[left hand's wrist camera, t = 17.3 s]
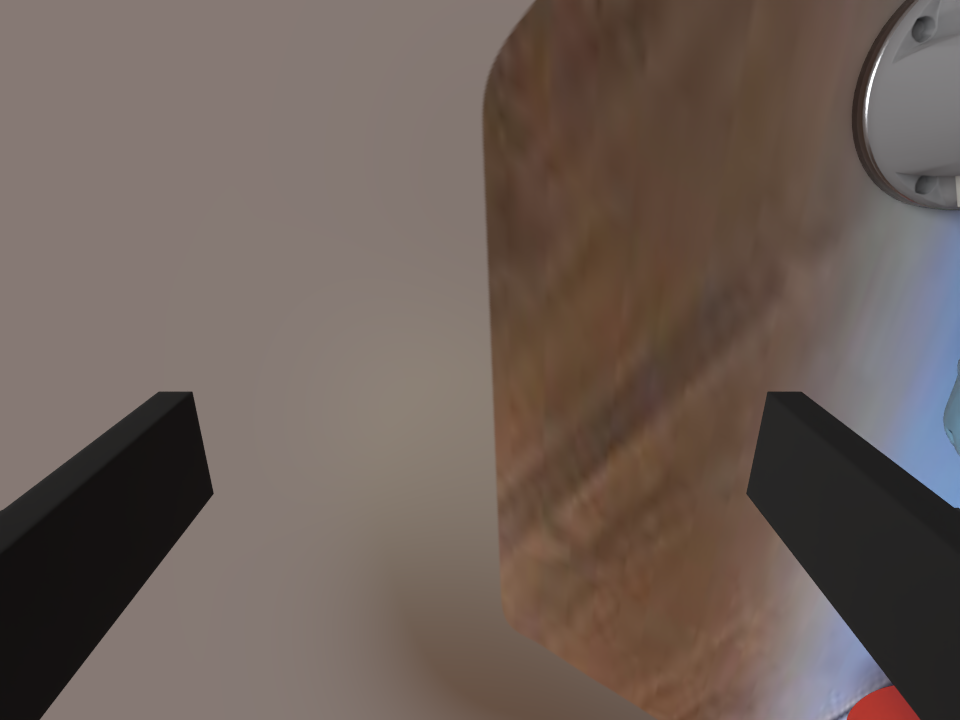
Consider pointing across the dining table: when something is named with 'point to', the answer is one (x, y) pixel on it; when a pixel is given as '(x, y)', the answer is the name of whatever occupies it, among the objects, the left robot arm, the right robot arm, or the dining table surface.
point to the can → (883, 706)
